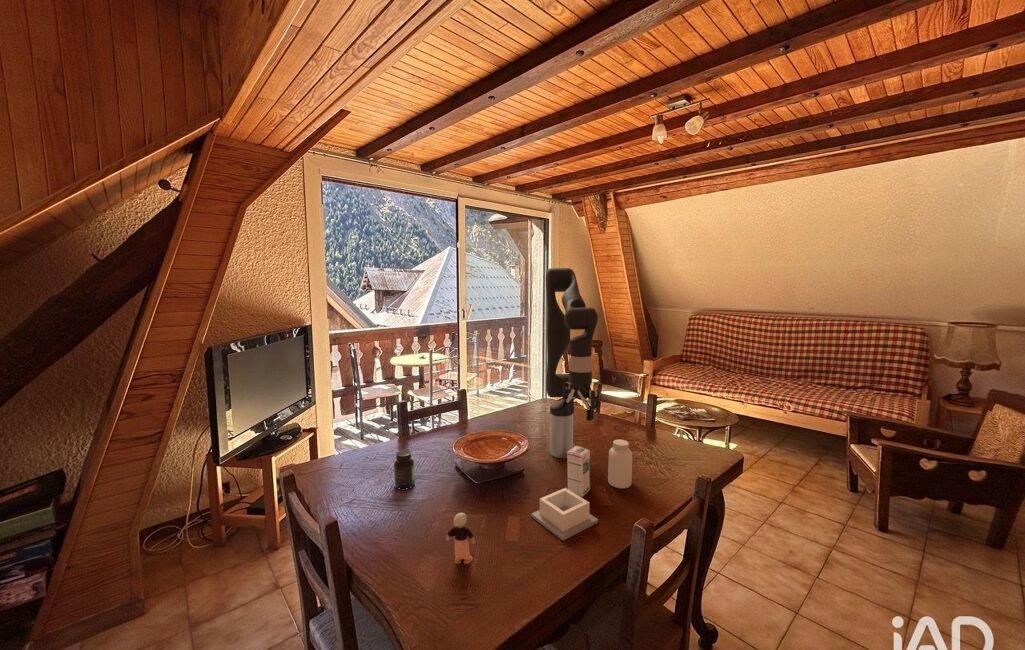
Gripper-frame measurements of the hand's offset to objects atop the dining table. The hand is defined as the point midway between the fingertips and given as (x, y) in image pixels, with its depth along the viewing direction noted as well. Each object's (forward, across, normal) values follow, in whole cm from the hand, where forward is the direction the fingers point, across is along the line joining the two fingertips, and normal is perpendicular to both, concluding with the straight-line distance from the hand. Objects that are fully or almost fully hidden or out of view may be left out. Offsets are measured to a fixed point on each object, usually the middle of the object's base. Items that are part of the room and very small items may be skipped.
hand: (580, 416), depth 133 cm
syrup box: (+26, 0, 0) cm, 26 cm away
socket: (+26, +9, -15) cm, 31 cm away
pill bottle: (+26, +5, +15) cm, 30 cm away
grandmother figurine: (+26, +6, -48) cm, 55 cm away
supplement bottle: (+26, -39, -46) cm, 66 cm away
